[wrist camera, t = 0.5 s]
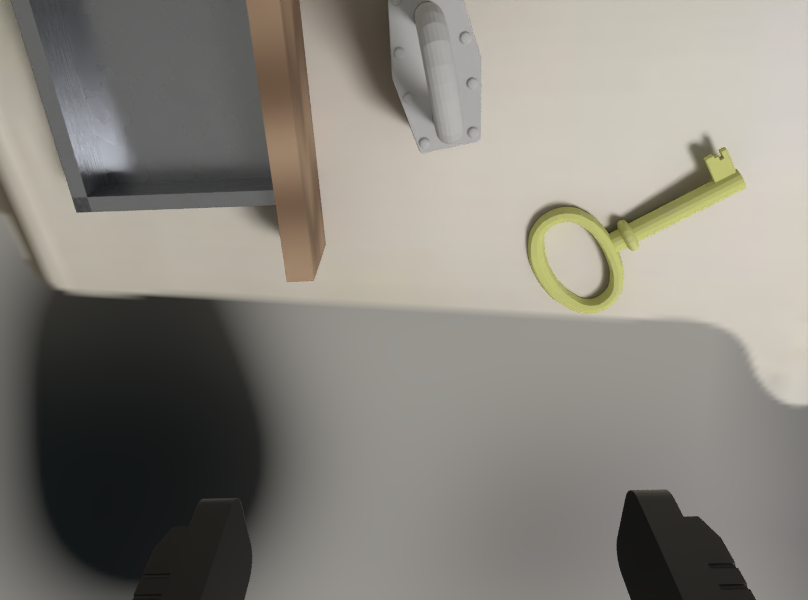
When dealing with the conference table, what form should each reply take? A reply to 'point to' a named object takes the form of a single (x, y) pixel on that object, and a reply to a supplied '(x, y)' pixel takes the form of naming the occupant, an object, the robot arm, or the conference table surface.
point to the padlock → (436, 71)
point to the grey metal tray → (150, 101)
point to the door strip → (288, 132)
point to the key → (627, 233)
